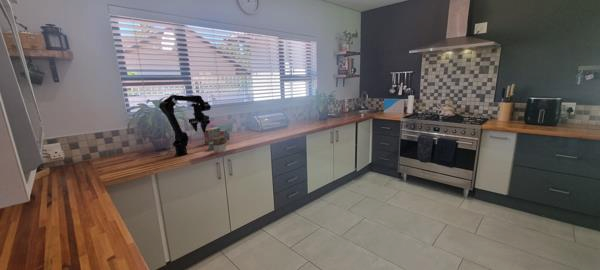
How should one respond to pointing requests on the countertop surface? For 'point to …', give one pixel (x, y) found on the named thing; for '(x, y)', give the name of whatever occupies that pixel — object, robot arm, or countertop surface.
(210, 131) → the stack of blocks
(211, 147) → the slate brick
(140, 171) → the countertop surface
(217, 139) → the walnut brick
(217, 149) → the cream brick
